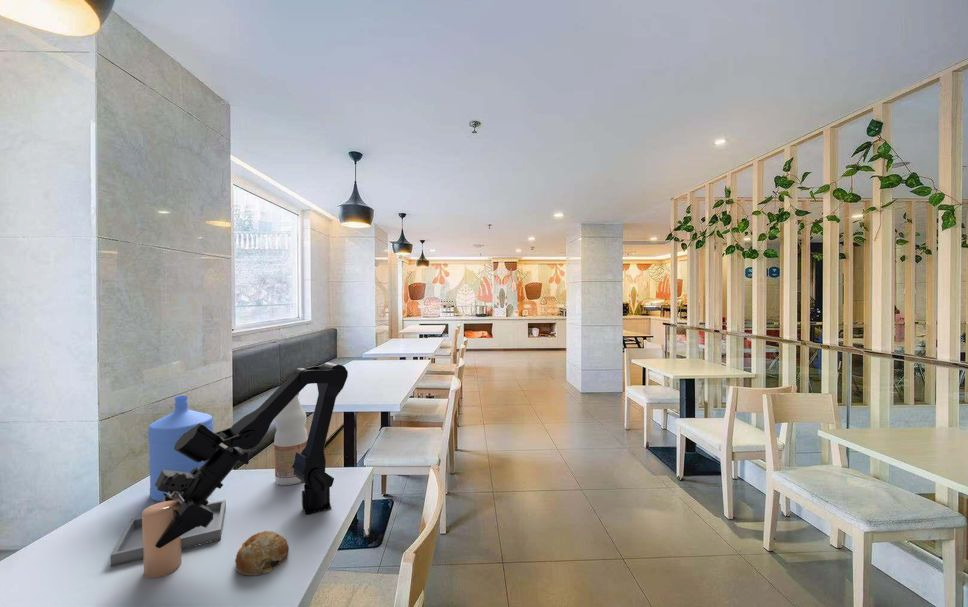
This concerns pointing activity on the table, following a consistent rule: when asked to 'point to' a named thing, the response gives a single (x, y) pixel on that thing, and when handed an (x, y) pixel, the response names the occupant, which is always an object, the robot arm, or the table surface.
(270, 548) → the bread roll
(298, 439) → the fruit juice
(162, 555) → the peach rounded cylinder
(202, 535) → the grey tray
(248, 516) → the table surface
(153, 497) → the water jug
